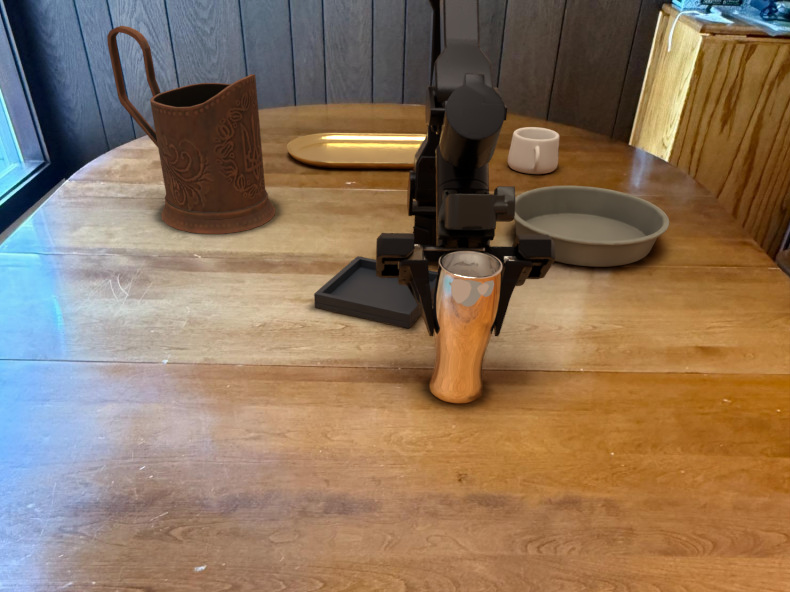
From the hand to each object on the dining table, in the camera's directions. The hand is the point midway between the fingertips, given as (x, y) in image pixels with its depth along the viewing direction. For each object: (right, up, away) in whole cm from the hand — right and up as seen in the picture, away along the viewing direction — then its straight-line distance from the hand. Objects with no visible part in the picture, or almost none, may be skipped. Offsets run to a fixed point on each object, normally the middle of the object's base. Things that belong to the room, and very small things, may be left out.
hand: (464, 335), depth 83 cm
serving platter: (-11, +53, +69) cm, 88 cm away
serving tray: (-9, +11, +23) cm, 28 cm away
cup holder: (-39, +32, +46) cm, 68 cm away
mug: (+19, +49, +66) cm, 84 cm away
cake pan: (+22, +25, +41) cm, 53 cm away
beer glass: (-1, -5, +6) cm, 8 cm away
